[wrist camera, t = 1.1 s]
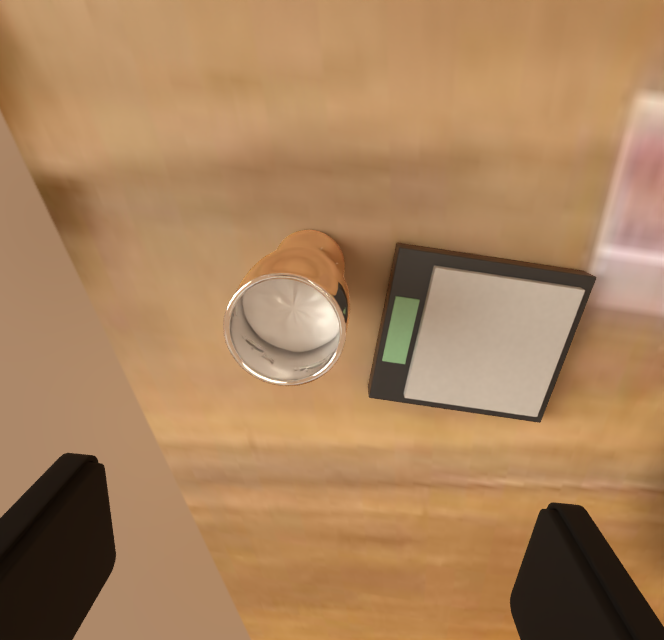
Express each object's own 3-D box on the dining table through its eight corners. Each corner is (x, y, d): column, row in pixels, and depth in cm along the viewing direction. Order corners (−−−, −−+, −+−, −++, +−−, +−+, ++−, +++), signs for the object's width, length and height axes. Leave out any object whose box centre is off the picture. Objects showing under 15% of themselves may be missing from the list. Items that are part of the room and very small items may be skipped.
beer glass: (330, 314, 38) (319, 407, 24) (257, 284, 37) (202, 361, 23) (363, 244, 36) (371, 301, 22) (286, 209, 35) (244, 246, 21)
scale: (367, 386, 41) (369, 402, 38) (396, 242, 36) (400, 249, 33) (532, 410, 41) (544, 428, 38) (584, 270, 36) (602, 280, 33)
